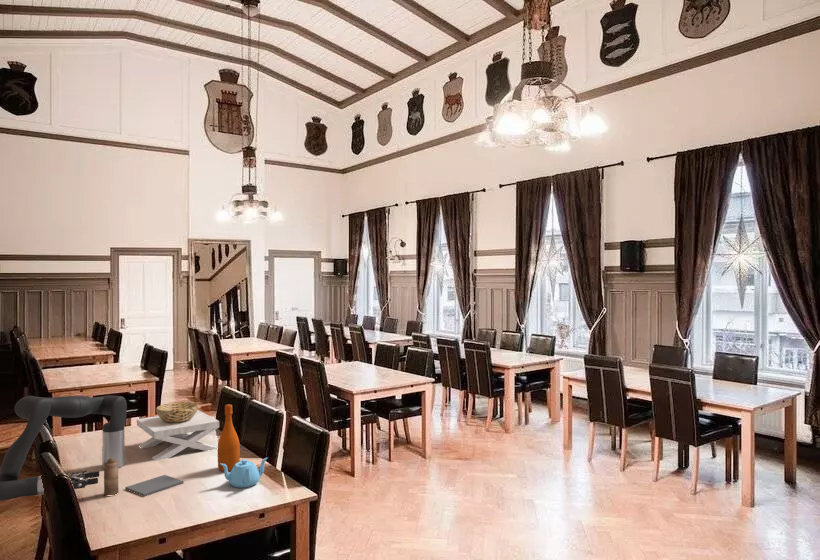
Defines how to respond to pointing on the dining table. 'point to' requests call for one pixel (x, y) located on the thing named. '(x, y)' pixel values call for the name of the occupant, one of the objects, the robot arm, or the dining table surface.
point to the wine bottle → (228, 443)
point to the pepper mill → (111, 477)
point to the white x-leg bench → (178, 428)
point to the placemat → (154, 485)
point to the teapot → (244, 473)
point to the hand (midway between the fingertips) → (98, 477)
